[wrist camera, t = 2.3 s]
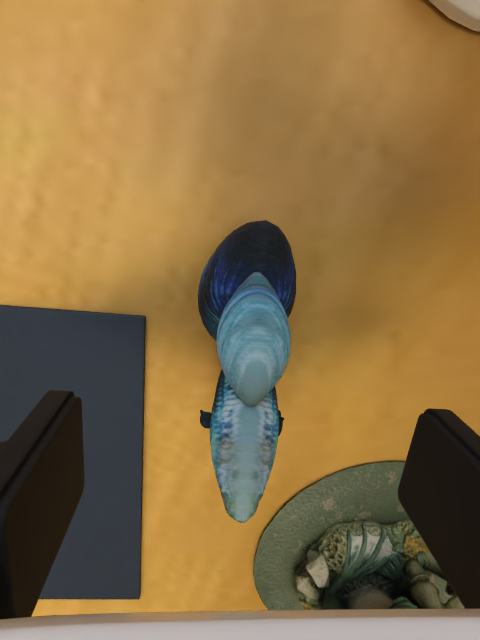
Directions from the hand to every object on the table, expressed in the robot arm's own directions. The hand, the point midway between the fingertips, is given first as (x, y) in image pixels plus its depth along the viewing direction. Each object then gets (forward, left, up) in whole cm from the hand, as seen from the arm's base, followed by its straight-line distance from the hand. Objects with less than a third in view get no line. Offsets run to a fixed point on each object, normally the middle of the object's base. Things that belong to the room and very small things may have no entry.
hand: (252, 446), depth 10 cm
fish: (0, 0, -12) cm, 12 cm away
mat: (+12, -11, -11) cm, 19 cm away
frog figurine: (+19, +12, -12) cm, 25 cm away
